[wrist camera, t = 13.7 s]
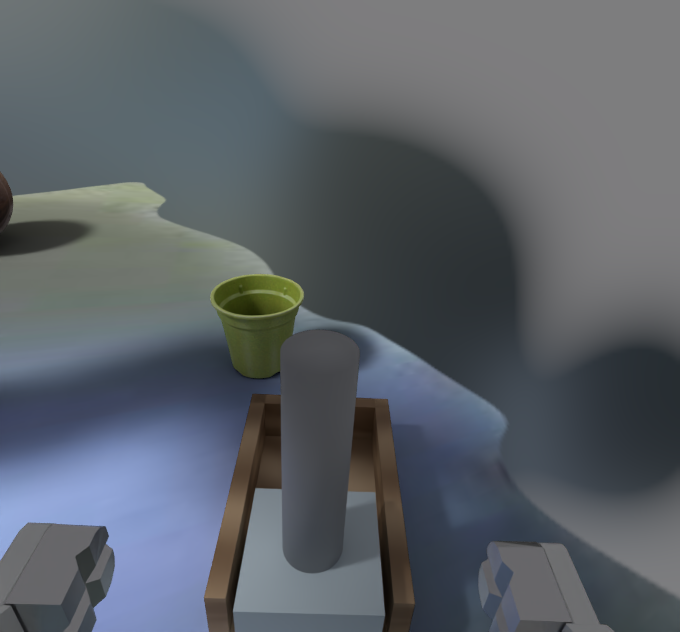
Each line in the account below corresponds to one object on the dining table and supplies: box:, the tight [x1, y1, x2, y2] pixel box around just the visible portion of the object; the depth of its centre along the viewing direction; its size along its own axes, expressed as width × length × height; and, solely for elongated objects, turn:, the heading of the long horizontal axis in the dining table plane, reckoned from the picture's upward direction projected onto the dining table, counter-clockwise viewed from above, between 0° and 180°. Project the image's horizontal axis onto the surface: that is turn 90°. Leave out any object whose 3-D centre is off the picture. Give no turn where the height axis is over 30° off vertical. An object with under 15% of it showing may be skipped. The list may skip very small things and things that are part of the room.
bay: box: [204, 394, 415, 632], centre depth 37 cm, size 18×12×4 cm, turn 0°
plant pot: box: [210, 274, 304, 378], centre depth 52 cm, size 9×9×9 cm
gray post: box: [233, 330, 385, 632], centre depth 27 cm, size 8×8×19 cm
